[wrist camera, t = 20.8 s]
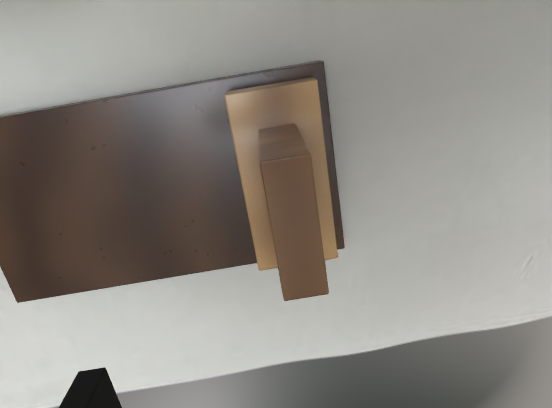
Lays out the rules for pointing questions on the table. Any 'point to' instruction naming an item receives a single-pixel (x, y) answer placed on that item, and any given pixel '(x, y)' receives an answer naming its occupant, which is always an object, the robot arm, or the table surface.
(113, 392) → the robot arm
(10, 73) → the table surface
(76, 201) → the board
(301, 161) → the tan slab with handle
